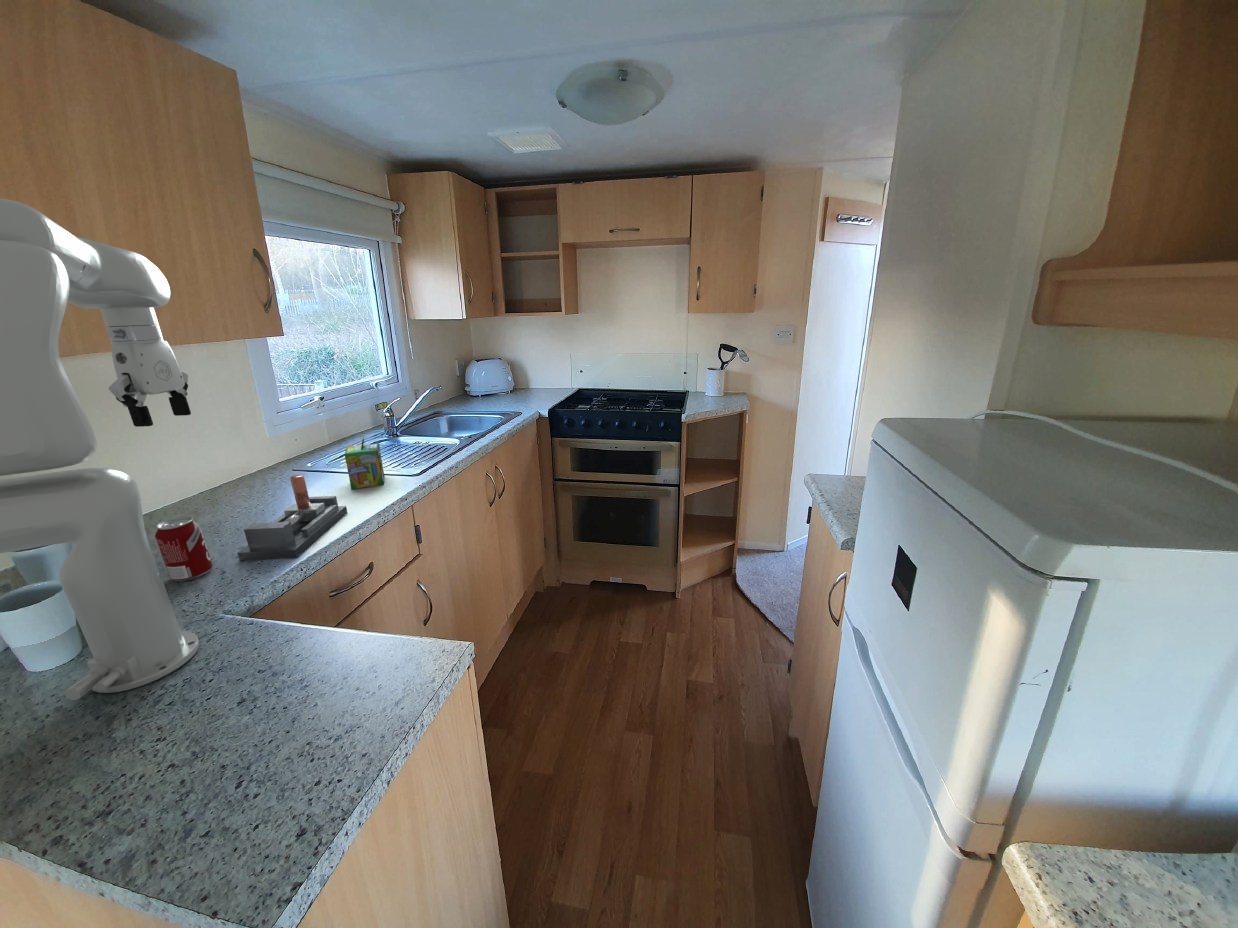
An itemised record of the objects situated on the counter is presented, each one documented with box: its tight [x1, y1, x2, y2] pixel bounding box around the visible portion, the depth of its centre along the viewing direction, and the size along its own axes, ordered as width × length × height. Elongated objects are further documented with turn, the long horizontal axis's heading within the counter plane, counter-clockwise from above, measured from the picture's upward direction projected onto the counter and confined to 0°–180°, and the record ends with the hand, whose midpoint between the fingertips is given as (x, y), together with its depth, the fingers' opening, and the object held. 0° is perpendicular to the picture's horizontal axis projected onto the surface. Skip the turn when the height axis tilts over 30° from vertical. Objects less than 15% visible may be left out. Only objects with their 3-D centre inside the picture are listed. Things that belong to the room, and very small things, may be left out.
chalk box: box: [344, 435, 385, 490], centre depth 147 cm, size 9×9×15 cm
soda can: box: [154, 516, 213, 582], centre depth 98 cm, size 7×7×12 cm
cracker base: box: [237, 495, 348, 562], centre depth 115 cm, size 24×12×7 cm, turn 4°
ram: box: [283, 474, 325, 528], centre depth 115 cm, size 10×7×11 cm
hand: (164, 420), depth 100 cm, fingers open, 9 cm apart
